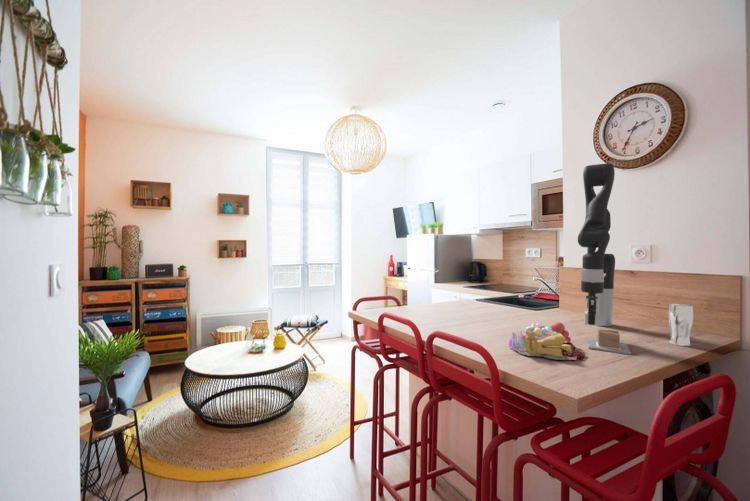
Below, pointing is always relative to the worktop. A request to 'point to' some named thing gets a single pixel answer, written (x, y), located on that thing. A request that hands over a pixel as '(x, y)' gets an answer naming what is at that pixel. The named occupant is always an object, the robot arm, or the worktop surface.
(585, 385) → the worktop surface
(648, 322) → the worktop surface
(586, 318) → the sage cube
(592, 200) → the robot arm
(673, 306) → the beer glass
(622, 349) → the pad
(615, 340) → the walnut block
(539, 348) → the candy landscape model
